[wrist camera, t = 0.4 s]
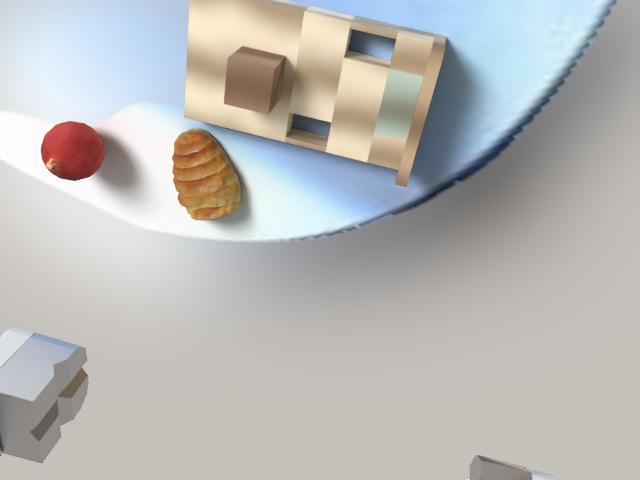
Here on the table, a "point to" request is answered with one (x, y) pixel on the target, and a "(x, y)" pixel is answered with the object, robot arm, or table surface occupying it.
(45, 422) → the robot arm
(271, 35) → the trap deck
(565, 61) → the table surface
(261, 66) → the walnut block
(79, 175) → the onion
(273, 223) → the table surface
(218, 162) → the pastry
